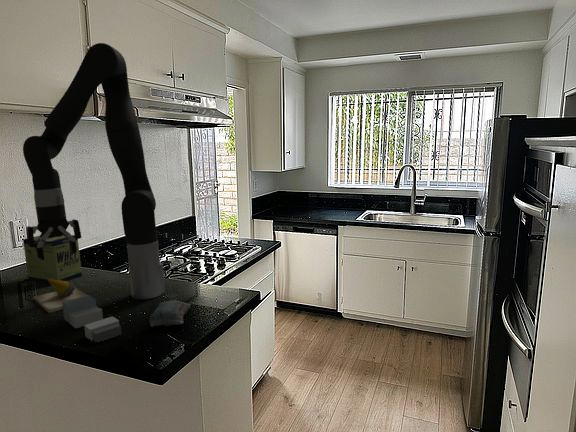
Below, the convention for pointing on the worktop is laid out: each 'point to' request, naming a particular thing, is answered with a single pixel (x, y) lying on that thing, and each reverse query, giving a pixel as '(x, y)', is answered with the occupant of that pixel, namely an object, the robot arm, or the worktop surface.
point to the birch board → (56, 300)
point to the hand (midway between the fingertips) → (57, 256)
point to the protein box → (53, 260)
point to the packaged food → (169, 313)
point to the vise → (90, 319)
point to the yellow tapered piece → (62, 287)
